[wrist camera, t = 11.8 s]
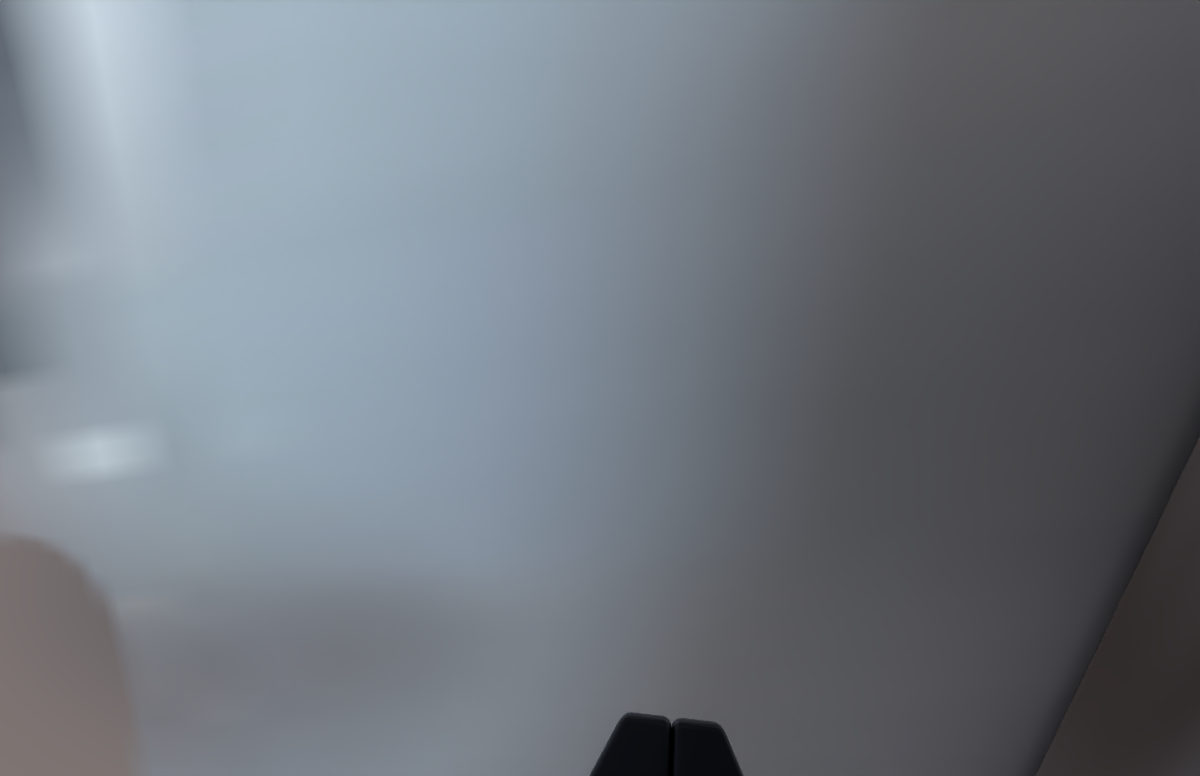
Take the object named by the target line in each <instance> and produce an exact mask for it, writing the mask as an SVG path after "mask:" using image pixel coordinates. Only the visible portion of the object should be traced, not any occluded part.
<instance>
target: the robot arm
mask: <svg viewBox="0 0 1200 776" xmlns="http://www.w3.org/2000/svg"><path fill="white" fill-rule="evenodd" d="M590 776H743V774H742V771H741V769H740V767H739V764H738V762H737V759H736V757H735V755H734V752H733V750H732V747H731V745H730V743H729V740H728V738H727V735H726V733H725V731H724V730H723V728H722V727H721V726H720V725H719V724H718V723H716V722H711V721H703V720H694V719H685V718H678V719H676V720H675V721H674V722H673V723H672V727H671V723H670V721H669V719H667V718H666V717H664V716H659V715H650V714H641V713H632V712H630V713H626V714H624V715H623V716H622V717H621V719H620V720H619V722H618V724H617V725H616V727H615V729H614V731H613V733H612V735H611V737H610V738H609V740H608V742H607V744H606V746H605V748H604V750H603V751H602V753H601V755H600V757H599V759H598V761H597V763H596V765H595V766H594V768H593V770H592V772H591V774H590Z"/></svg>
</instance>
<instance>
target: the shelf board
mask: <svg viewBox="0 0 1200 776" xmlns="http://www.w3.org/2000/svg"><path fill="white" fill-rule="evenodd" d="M1035 776H1200V437H1199V439H1198V441H1197V443H1196V445H1195V447H1194V449H1193V451H1192V453H1191V456H1190V458H1189V460H1188V462H1187V464H1186V466H1185V468H1184V470H1183V472H1182V474H1181V476H1180V478H1179V480H1178V482H1177V484H1176V486H1175V489H1174V491H1173V493H1172V495H1171V497H1170V499H1169V501H1168V503H1167V505H1166V507H1165V509H1164V511H1163V513H1162V515H1161V517H1160V520H1159V522H1158V524H1157V526H1156V528H1155V530H1154V532H1153V534H1152V536H1151V538H1150V540H1149V542H1148V544H1147V546H1146V548H1145V550H1144V553H1143V555H1142V557H1141V559H1140V561H1139V563H1138V565H1137V567H1136V569H1135V571H1134V573H1133V575H1132V577H1131V579H1130V581H1129V583H1128V586H1127V588H1126V590H1125V592H1124V594H1123V596H1122V598H1121V600H1120V602H1119V604H1118V606H1117V608H1116V610H1115V612H1114V614H1113V617H1112V619H1111V621H1110V623H1109V625H1108V627H1107V629H1106V631H1105V633H1104V635H1103V637H1102V639H1101V641H1100V643H1099V645H1098V647H1097V650H1096V652H1095V654H1094V656H1093V658H1092V660H1091V662H1090V664H1089V666H1088V668H1087V670H1086V672H1085V674H1084V676H1083V678H1082V681H1081V683H1080V685H1079V687H1078V689H1077V691H1076V693H1075V695H1074V697H1073V699H1072V701H1071V703H1070V705H1069V707H1068V709H1067V711H1066V714H1065V716H1064V718H1063V720H1062V722H1061V724H1060V726H1059V728H1058V730H1057V732H1056V734H1055V736H1054V738H1053V740H1052V742H1051V744H1050V747H1049V749H1048V751H1047V753H1046V755H1045V757H1044V759H1043V761H1042V763H1041V765H1040V767H1039V769H1038V771H1037V773H1036V775H1035Z"/></svg>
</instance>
